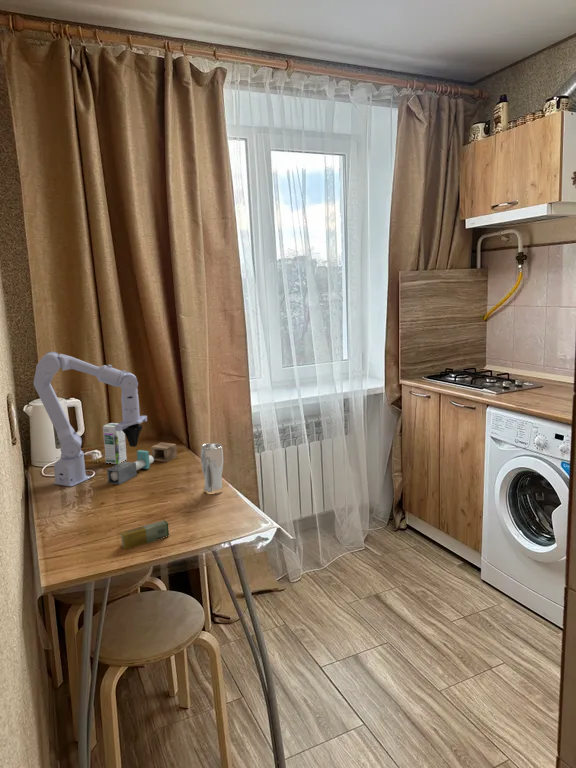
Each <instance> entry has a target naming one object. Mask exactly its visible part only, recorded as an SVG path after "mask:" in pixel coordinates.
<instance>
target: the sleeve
mask: <svg viewBox="0 0 576 768" xmlns="http://www.w3.org/2000/svg"><path fill="white" fill-rule="evenodd" d="M134 462H135V461H127V460H126V461H124V462H122V463H120V464H114V465H113V466H111V467H109V468H107V469H106V473H107V475H106V476H107V484H112V485H119V486H121V485H122V484H124V483H126V482H128V481H130V480H132V479H134V478H135V476H136V477H138V474H137V472H138V470H137V471H136V463H134ZM112 472H117V478H118V480H116V481H114V480H112V479H111V473H112ZM133 477H134V478H133ZM131 478H132V479H131ZM129 479H130V480H129ZM127 480H128V481H127Z"/></svg>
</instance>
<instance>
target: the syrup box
mask: <svg viewBox="0 0 576 768" xmlns="http://www.w3.org/2000/svg"><path fill="white" fill-rule="evenodd" d="M119 423H120V422H119ZM119 423H116V422H110V423H107V424H105V425H103V426H102V430H103V431H102V432H103V442H104V454H105V455H104V458H105V464H106V463H108V464H109V463H111V465H117V464H120V463H121V462H123V461H125V460H126V461H127V460H128V457H127V446H126V435H125V433H124V432H123V431H116V430H115V425H117V424H119Z"/></svg>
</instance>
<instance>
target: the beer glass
mask: <svg viewBox="0 0 576 768" xmlns="http://www.w3.org/2000/svg"><path fill="white" fill-rule="evenodd" d="M200 462H201V468H202V473H203V477H204V488H203V491H204V490H205V491H208V492H212V491H217V490H219V489H221V488H222V486H223V481H222V479H223V478H222V477H223V469H224V451H223V444H221V443H217V442H209V443H204V444H202V445H201V446H200Z"/></svg>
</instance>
